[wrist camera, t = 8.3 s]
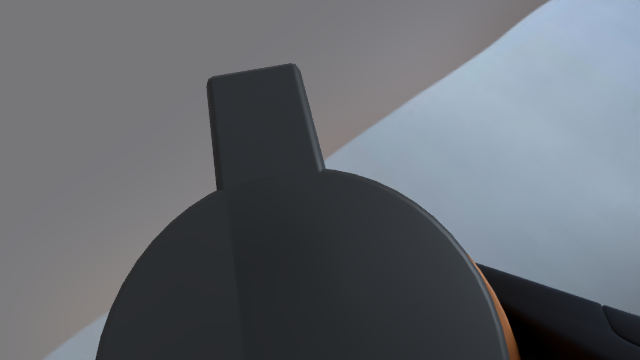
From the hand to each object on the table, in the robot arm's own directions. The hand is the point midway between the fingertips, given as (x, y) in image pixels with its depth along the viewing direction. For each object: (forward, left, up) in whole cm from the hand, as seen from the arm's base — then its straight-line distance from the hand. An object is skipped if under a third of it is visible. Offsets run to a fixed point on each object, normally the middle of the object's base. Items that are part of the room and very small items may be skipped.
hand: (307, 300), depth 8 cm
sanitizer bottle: (-1, -1, -7) cm, 7 cm away
